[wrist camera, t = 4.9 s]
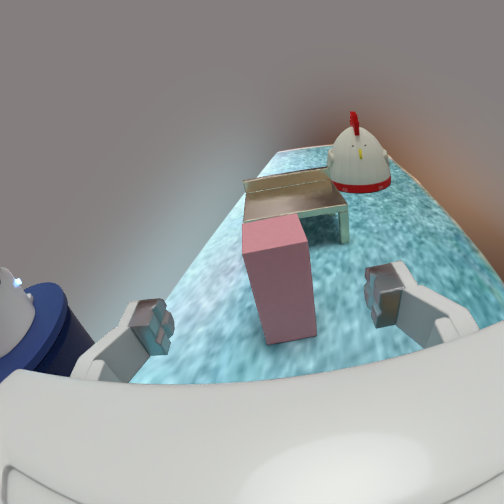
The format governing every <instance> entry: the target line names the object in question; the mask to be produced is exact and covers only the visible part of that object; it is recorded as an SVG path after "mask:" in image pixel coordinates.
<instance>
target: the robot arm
mask: <svg viewBox="0 0 504 504" xmlns="http://www.w3.org/2000/svg"><path fill="white" fill-rule="evenodd" d="M365 278H366V280H367V282H366V284H365V285H364V294H365V301H366V304H367V307H368V309H370V310H372V312H371V317H372V320H373V323H374V325H375V328H376V329H377V328H382V327H387V326H392V325H396V326H397V327H398V328H399V329H401V330H402V331H403V332H404V333H406V334H407V335H408V336H409V337H411V338H412V339H413V340H414V341H416V342H417V343H418V344H419V345H420V346H422V347H423V348H424V349H422V350H419V351H415V352H412V353H408V354H405V355H401V356H397V357H393V358H389V359H385V360H381V361H377V362H373V363H368V364H363V365H359V366H354V367H349V368H344V369H339V370H333V371H327V372H321V373H315V374H309V375H302V376H295V377H287V378H279V379H270V380H260V381H248V382H235V383H217V384H137V383H129V382H130V380H131V379H132V378H133V377H134V376H135V374H136V373H137V372H138V371H139V370H140V368H141V367H142V366H143V365H144V364H145V362H146V361H147V360H148V359H149V358H150V356H155V355H168V351H169V347H170V344H171V342H170V340H169V338H170V337H171V336H172V335H173V333H174V320H173V317H172V315H171V313H170V312H168V311H167V310H165V309H166V306H167V305H166V303H165V302H164V300H163V299H160V298H159V299H148V300H139V301H131V302H129V303H128V306H127V308H126V310H125V312H124V314H123V316H122V318H121V320H120V322H119V324H118V327H117V328H113V329H112V330H111V331H110V332H109V333H107V334H106V335H105V336H104V337H103V338H101V339H100V340H99V341H98V342H97V343H96V344H94V345H93V346H92V347H91V348H90V349H88V350H87V351H86V352H85V353H84V354H83V355H81V356H80V357H79V358H78V360H77V363H76V365H75V367H74V369H73V371H72V374H71V376H70V377H63V376H57V375H51V374H45V373H39V372H34V371H29V370H24V369H17V370H15V371H14V372H12V373H11V374H10V375H9V376H8V377H7V378H5V379H4V380H3V381H2V382H1V383H0V504H504V320H503V321H500V322H498V323H495V324H493V325H491V326H488V327H486V328H483V329H481V330H480V329H479V327H478V325H477V324H476V322H475V320H474V319H473V317H472V316H471V314H470V312H469V311H468V309H466V308H465V307H463V306H461V305H459V304H457V303H455V302H453V301H451V300H450V299H448V298H446V297H444V296H442V295H440V294H438V293H436V292H434V291H432V290H430V289H429V288H427V287H425V286H423V285H419V286H418V284H417V283H416V281H415V279H414V278H413V276H412V275H411V273H410V272H409V270H408V269H407V267H406V266H405V264H404V263H403V261H401V260H400V261H396V262H391V263H388V264H383V265H378V266H373V267H367V268H366V269H365ZM21 283H22V282H21V280H20V279H16V280H15V278H14V277H13V276H12V274H11V273H10V271H9V270H8V269H6V268H2V267H0V358H2V357H3V356H5V355H6V354H8V353H9V352H10V351H11V350H12V349H13V348H14V347H15V346H16V345H17V344H18V343H19V342H20V341H21V340H22V338H23V337H24V336H25V334H26V333H27V331H28V330H29V328H30V326H31V324H32V322H33V319H34V316H35V308H34V306H33V300H34V297H33V296H32V295H31V293H29V294H26V293H25V292H24V291H23V289H22V288H21V287H20V285H19V284H21Z"/></svg>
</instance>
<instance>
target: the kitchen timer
mask: <svg viewBox="0 0 504 504" xmlns="http://www.w3.org/2000/svg"><path fill="white" fill-rule="evenodd" d="M350 114H351V116H350V119H351V120H350V124H351V127H350V128H348V129H346V130H345V131H343V132H342V133H341V134H340V135H339V137H338V138H337V139H336V141H335V143H334V145H333V147H332V150H331V149H329V152H328V159H327V166H328V167H329V168H330V177H331V179H330V180H331V181H332V182H333V184H334V185H335V186H336V188H337V189H338V190H339V191H343V192H349V193H369V192H375V191H379V190H382V189H385V188H386V187H388V186H389V185H390V183H391V174H390V169H389V160H388V155H387V151H386V150H384V149H383V148H382V147H381V145H380V144H379V142H378V141H377V140H376V138H375V137H374V136H373V135H372V134H371V133H369V132H368V131H367V130H365V129H363V128H361V127H359V122H358V118H357V115H356V113H355V112H350Z"/></svg>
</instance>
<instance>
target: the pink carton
mask: <svg viewBox="0 0 504 504" xmlns="http://www.w3.org/2000/svg"><path fill="white" fill-rule="evenodd" d="M242 255H243V258H244V262H245V266H246V269H247V273H248V277H249V281H250V284H251V288H252V292H253V295H254V299H255V303H256V306H257V310H258V313H259V317H260V321H261V324H262V328H263V332H264V335H265V339H266V342H267V345H269V344H275V343H281V342H286V341H292V340H297V339H302V338H307V337H312V336H317V330H316V317H315V305H314V294H313V284H312V274H311V264H310V255H309V246H308V240H307V238H306V235H305V233H304V230H303V228H302V225H301V223H300V220H299V218H298V215H297V213H295V214H289V215H284V216H279V217H274V218H269V219H264V220H259V221H254V222H249V223H244V224H242Z"/></svg>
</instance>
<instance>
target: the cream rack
mask: <svg viewBox="0 0 504 504" xmlns="http://www.w3.org/2000/svg"><path fill="white" fill-rule="evenodd" d="M330 179H331V177H330V168H329V167H328V166H327V167H320V168H313V169H306V170H300V171H294V172H287V173H281V174H276V175H270V176H264V177H259V178H254V179H248V180H244V181H243V183H244V188H245V192H246V193H247V194H246V198H245V208H244V218H243V223H249V222H254V221H259V220H264V219H269V218H274V217H279V216H284V215H289V214H295V213H297V215H298V218H306V217H312V216H318V215H324V214H328V216H334V215H335V213H337V212H338V219H339V236H340V241H341V243H342V244H344V243H349V217H348V204H347V202H346V201H345V199H344V198H343V197H342V195H341V194H340V192H339V191H338V189H337V188H336V186H335V185H334V184H333V182H332V181H331V180H330ZM323 180H325V181H323ZM316 181H318V182H316ZM309 182H312V183H309ZM303 183H305V184H303ZM297 184H299V185H297ZM290 185H293V186H290ZM284 186H287V187H284ZM278 187H281V188H278ZM273 188H275V189H273ZM267 189H269V190H267ZM261 190H263V191H261ZM256 191H258V192H256ZM250 192H252V193H250Z"/></svg>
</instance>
